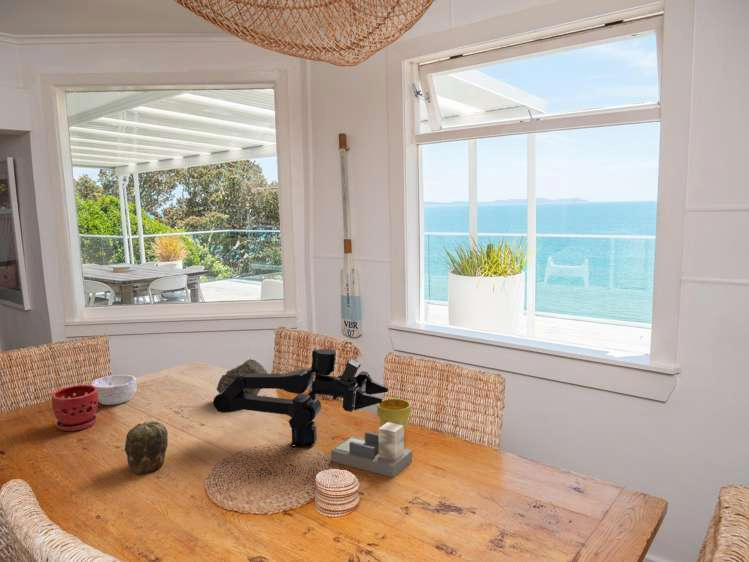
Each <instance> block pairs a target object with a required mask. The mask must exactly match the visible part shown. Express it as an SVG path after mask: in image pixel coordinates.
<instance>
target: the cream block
mask: <svg viewBox="0 0 749 562" xmlns="http://www.w3.org/2000/svg"><path fill="white" fill-rule="evenodd" d="M377 430H378V434H379V457H381V458H385V459H388V460H392V461H396V460H397V459H398V458H400V457H401V456H402V455H403V454H404V449H405V434H404V426H403V425H399V424H394V423H389V422H387V423H386V424H384V425H383V426H380V427H379V428H378V429H377Z"/></svg>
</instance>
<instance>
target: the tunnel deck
mask: <svg viewBox="0 0 749 562" xmlns="http://www.w3.org/2000/svg"><path fill="white" fill-rule="evenodd" d="M330 460H332V461H331V462H334V463H337V464H338V463H339V464H341V465H345V466H349V467H352V468H356V469H359V470H363V471H367V472H371V473H375V474H378V475H382V476H386V477H388V478H394V477H396V476H397V475H398V474H400V472H401V471H402V470H403V469H405V468H406V467H407V466H408V465H409V464H411V462H413V450H411V449H407V448H404V454H403V455H402V456H401V457H400V458H398V459H397V460H396V461H392V460H388V459H385V458H381V457H379V433H375V432H371V431H365V432H364V438H361V437H356V436H350V437H349V438H347V440H345V441H343V442H342V443H340V444H338V446H336V447H334V448H332V449H331V450H330Z"/></svg>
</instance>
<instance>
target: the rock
mask: <svg viewBox="0 0 749 562" xmlns="http://www.w3.org/2000/svg"><path fill="white" fill-rule="evenodd" d="M243 373H248V374H269V373H268V371H267V370H266V369H265V367H264V365H262V364H261V363H260V362H258V361H257V360H255V359H251V358H250V359H247V360H245V362H243V363H242V364H240V365H238V366H235V367H234V368H232V369H230V370H227V371H226V372H225V374H223V375H221V377H220V379H219V380H218V383H217V387H216V392H217V393H218V394H219V393H221V392H222V391H224V390H225V389H227V388H228V387H229V386H230V385H231V384H232V383H233V381H234V380H235V379H236V377H238V376H240V375H241V374H243ZM261 390H262V389H255V388H246V389H245V391H244V392H245V393H246V394H248V395H255V396H259V393H260V391H261Z"/></svg>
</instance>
